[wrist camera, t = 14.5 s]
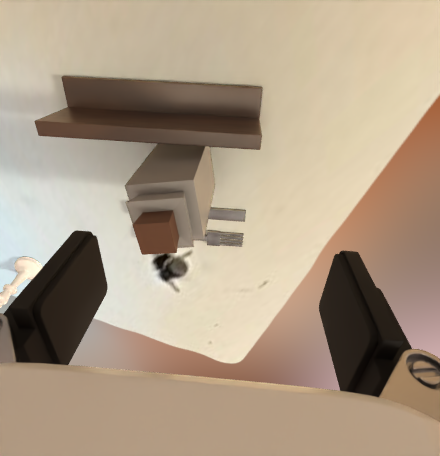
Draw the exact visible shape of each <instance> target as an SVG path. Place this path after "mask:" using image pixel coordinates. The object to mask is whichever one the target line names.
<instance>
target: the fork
mask: <svg viewBox="0 0 440 456" xmlns="http://www.w3.org/2000/svg"><path fill="white" fill-rule="evenodd" d="M222 235H231V236H222ZM235 236H243V234H241V233H228V232H220V231H209V230H208V233H207V235H206V234H205V237H204V239H197V240H201V241H207V245H213V246H220V245H226V246H239V247H242V244H236V243H243V241H240V240H243V237H235ZM220 238H225V239H220ZM227 239H238V240H227ZM222 242H230V243H222Z"/></svg>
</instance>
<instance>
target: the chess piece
mask: <svg viewBox="0 0 440 456" xmlns="http://www.w3.org/2000/svg"><path fill="white" fill-rule="evenodd" d="M42 268H43V266H42V265H41V264H40V263H39V262H38V261H37V260H35V259H33V258H30V257H21V258H19V259H18V260H17V261H16V262H15V269H16V271H17V272H18V275H17V276H16V278H15V279H14V280H13V282H12V283H11V284H10V285H9V284H6V285H4V287H3V290H4V291H3V292H1V293H0V308H1V305H4V304H6V303H7V302H8V299H9V297H10V294H11V295H13V294H15V293H17V289H16V287H17V286H19V285H20V284H21V283H22V282H23V281H24V280H26V279H30V280H32V279H33V278H34V277H35V276H36V275H37V274H38V272H39V271H40V270H41V269H42Z"/></svg>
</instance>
